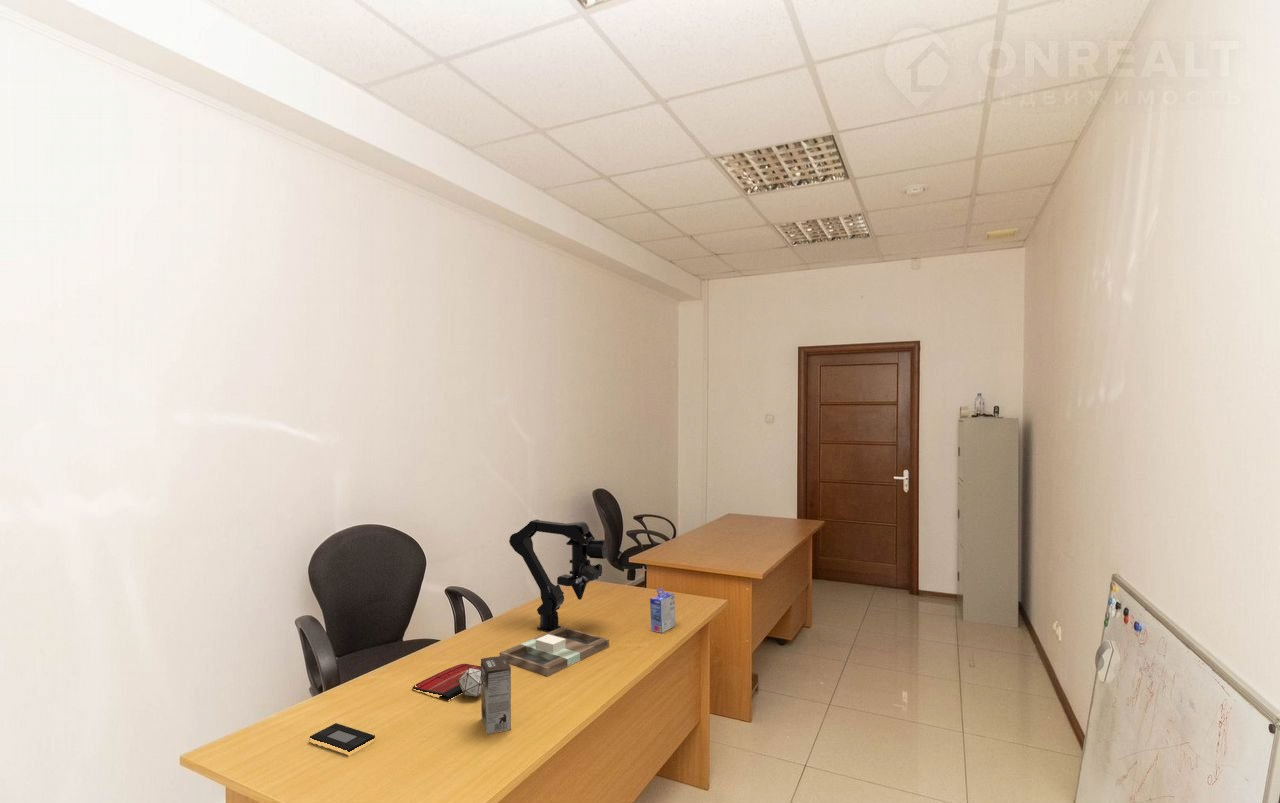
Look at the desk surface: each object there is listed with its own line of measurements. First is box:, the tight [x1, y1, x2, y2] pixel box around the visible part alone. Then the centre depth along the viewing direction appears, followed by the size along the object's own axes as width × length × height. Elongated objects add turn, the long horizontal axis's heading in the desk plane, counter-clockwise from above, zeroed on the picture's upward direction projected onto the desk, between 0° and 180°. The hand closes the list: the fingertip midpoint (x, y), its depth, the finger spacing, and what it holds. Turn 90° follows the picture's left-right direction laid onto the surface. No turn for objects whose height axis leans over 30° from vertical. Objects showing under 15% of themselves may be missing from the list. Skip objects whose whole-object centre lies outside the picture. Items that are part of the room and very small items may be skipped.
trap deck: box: [499, 626, 610, 677], centre depth 211 cm, size 22×30×2 cm
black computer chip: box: [309, 722, 376, 752], centre depth 155 cm, size 8×14×2 cm, turn 63°
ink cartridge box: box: [649, 587, 677, 634], centre depth 235 cm, size 10×6×14 cm, turn 145°
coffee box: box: [480, 655, 512, 735], centre depth 163 cm, size 9×6×16 cm
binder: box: [412, 663, 481, 701], centre depth 189 cm, size 16×2×21 cm
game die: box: [455, 665, 481, 700], centre depth 180 cm, size 9×8×10 cm
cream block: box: [536, 634, 566, 654], centre depth 209 cm, size 8×6×3 cm
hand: (579, 599), depth 232 cm, fingers closed
